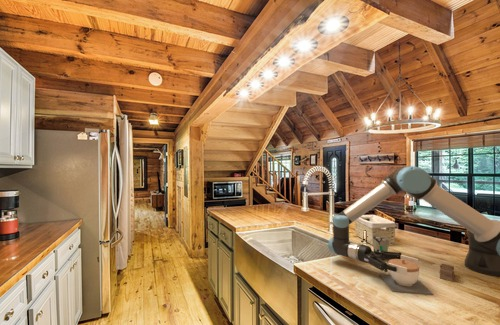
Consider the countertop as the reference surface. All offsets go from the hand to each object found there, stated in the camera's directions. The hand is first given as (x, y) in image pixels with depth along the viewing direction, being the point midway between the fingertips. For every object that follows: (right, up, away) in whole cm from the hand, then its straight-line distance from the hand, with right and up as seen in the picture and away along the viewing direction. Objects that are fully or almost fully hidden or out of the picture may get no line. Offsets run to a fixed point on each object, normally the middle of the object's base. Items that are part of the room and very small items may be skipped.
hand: (413, 267), depth 94 cm
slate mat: (-2, -8, +2) cm, 9 cm away
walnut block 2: (+19, -8, +7) cm, 22 cm away
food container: (+6, -9, +31) cm, 33 cm away
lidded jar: (-2, -8, +2) cm, 8 cm away
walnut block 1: (+23, -8, +11) cm, 26 cm away
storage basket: (+16, -10, +61) cm, 64 cm away
